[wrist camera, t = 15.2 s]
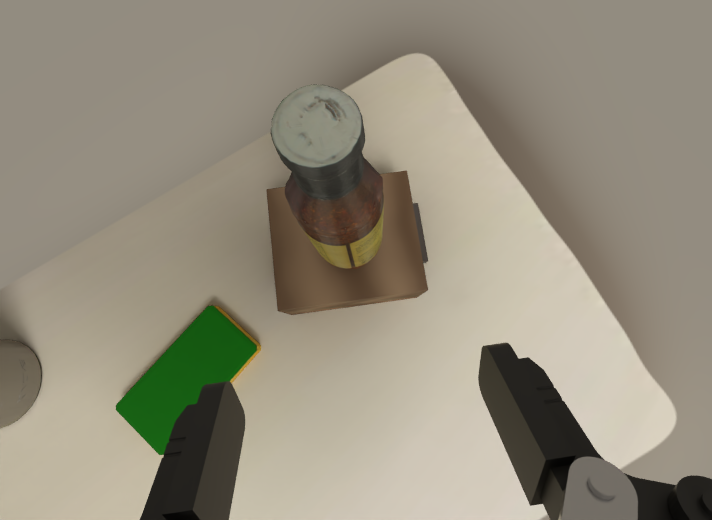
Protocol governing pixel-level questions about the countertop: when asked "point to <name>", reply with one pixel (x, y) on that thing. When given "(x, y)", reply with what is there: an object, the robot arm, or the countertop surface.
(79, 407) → the countertop surface
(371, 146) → the countertop surface
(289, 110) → the sauce bottle
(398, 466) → the countertop surface
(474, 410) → the countertop surface
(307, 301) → the walnut box
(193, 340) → the dish sponge
